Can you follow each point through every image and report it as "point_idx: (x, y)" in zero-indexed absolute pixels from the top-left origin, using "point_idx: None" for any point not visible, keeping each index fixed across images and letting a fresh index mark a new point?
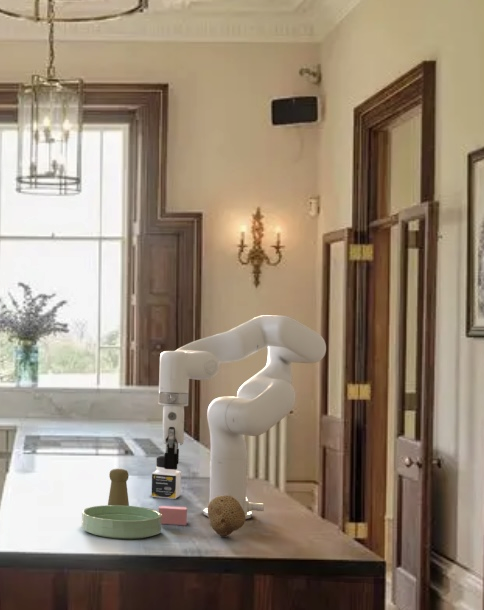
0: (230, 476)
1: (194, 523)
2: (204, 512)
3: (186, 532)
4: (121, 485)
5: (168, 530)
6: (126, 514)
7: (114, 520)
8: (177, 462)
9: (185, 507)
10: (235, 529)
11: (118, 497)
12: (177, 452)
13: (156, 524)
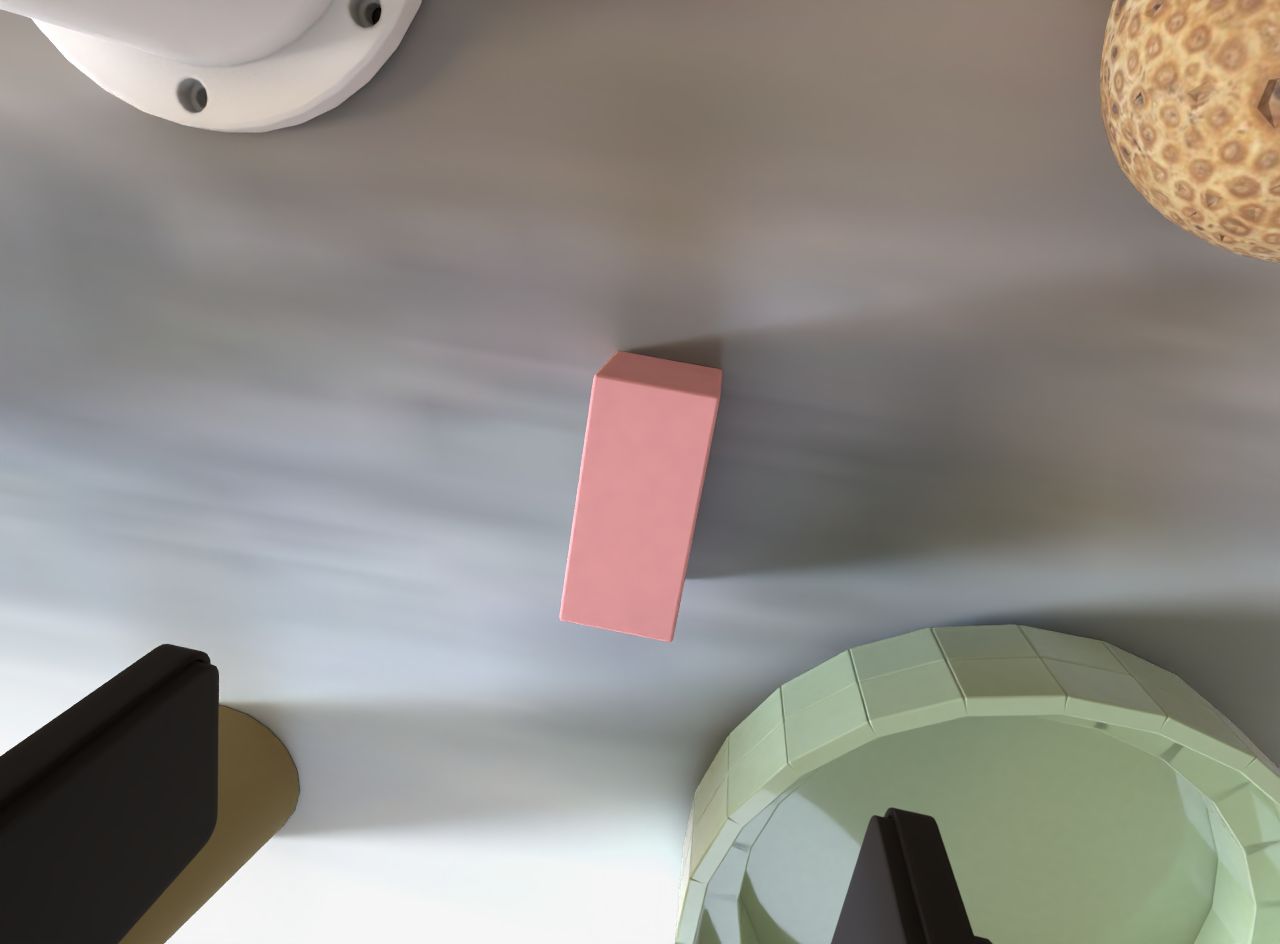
0: None
1: (626, 282)
2: (261, 128)
3: (1003, 414)
4: (141, 917)
5: (925, 545)
6: (735, 857)
7: None
8: (202, 679)
9: (611, 391)
10: None
11: (224, 857)
12: (30, 821)
13: (1239, 735)
